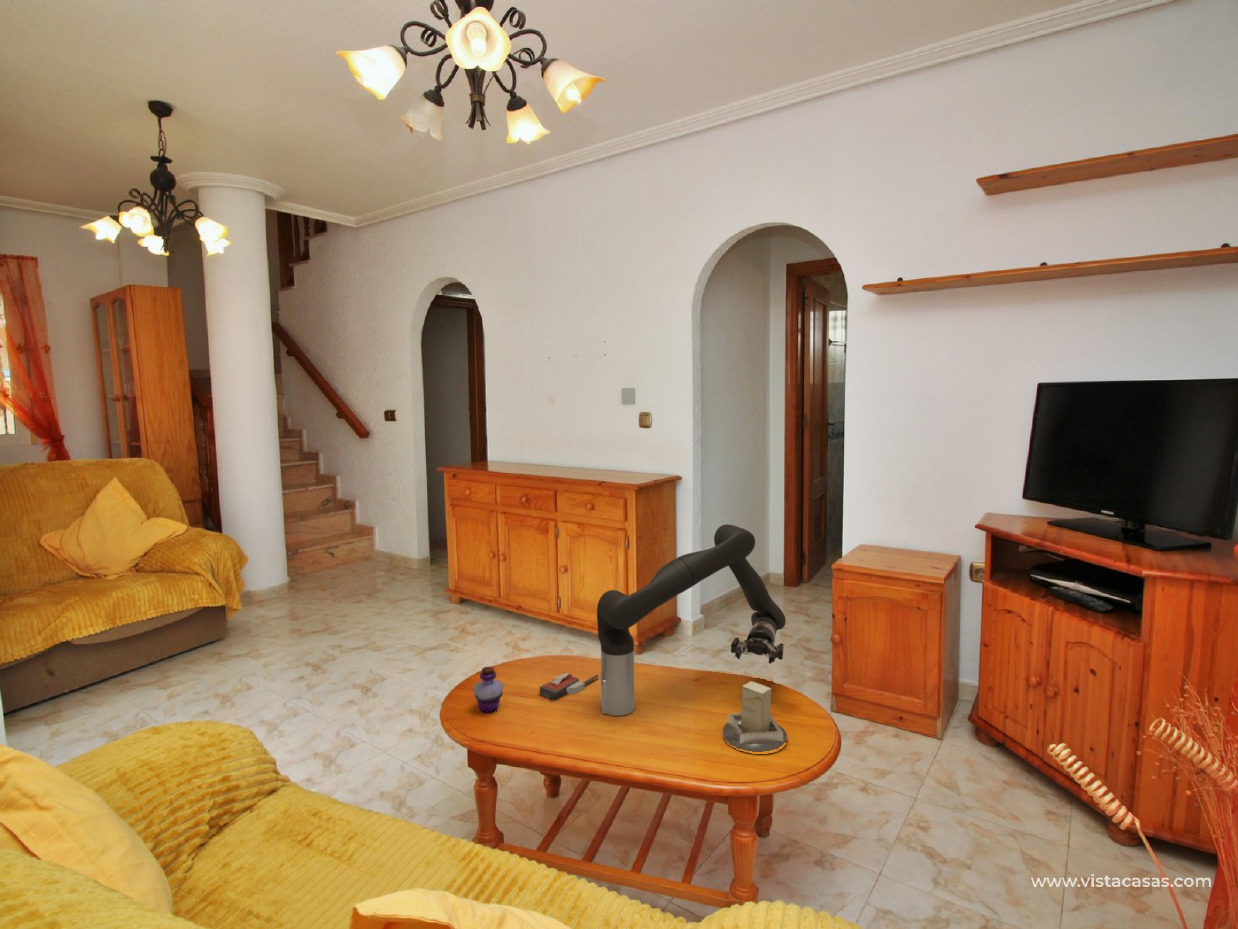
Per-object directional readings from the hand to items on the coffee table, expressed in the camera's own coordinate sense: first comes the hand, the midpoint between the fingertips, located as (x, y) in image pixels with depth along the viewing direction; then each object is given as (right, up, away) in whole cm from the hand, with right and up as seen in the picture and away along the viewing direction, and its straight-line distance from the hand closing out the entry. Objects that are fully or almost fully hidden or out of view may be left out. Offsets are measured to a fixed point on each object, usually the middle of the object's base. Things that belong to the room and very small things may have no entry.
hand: (754, 657), depth 179 cm
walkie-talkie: (-52, -15, +20) cm, 57 cm away
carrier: (-2, -18, -10) cm, 20 cm away
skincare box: (-2, -16, -10) cm, 19 cm away
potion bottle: (-73, -17, +7) cm, 75 cm away
